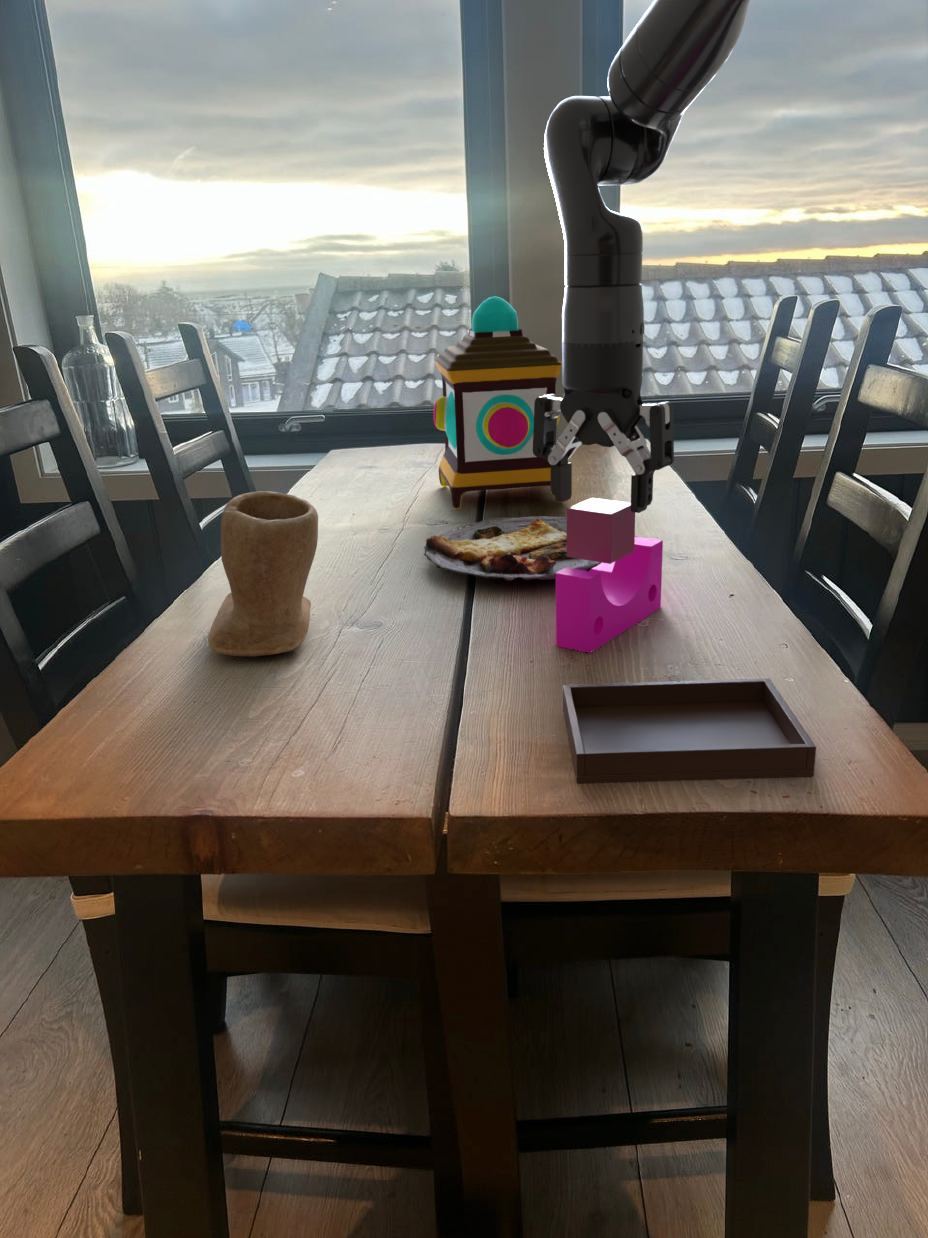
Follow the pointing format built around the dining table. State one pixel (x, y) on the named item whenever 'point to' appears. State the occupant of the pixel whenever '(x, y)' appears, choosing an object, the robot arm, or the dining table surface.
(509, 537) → the food plate
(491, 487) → the decorative lantern
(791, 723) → the tray
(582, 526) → the cube
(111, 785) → the dining table surface
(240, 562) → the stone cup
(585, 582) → the toy block
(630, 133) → the robot arm
